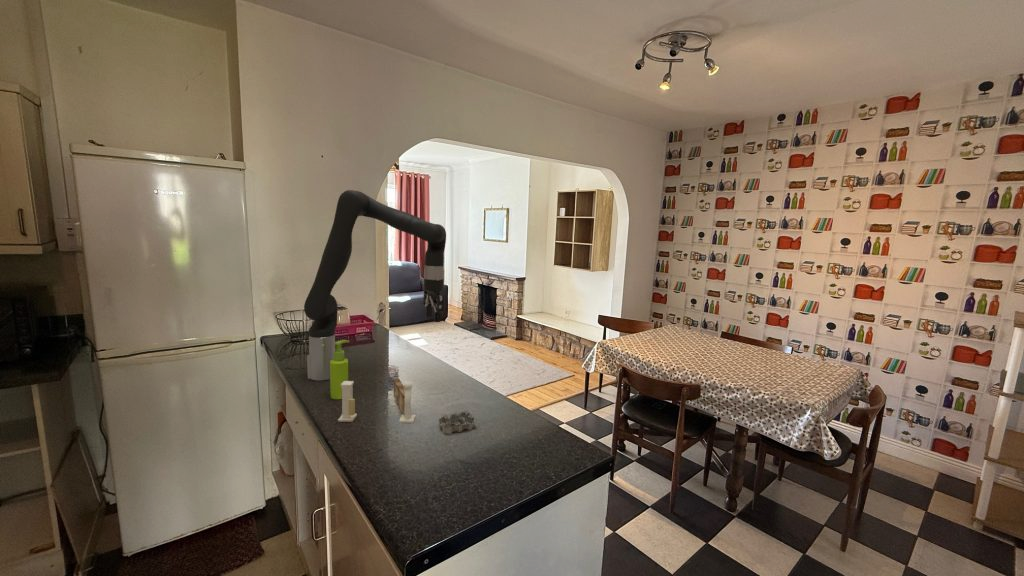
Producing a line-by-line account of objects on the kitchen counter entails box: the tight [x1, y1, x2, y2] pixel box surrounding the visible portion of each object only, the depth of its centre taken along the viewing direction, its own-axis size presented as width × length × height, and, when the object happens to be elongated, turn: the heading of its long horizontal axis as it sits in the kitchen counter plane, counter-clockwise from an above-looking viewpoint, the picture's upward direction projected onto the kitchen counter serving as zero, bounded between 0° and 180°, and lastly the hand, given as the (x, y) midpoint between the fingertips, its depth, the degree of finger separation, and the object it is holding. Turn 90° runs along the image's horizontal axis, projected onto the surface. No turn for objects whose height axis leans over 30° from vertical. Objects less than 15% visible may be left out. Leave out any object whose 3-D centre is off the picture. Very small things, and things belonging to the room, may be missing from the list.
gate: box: [392, 378, 405, 414], centre depth 136 cm, size 16×2×6 cm, turn 28°
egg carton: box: [437, 409, 477, 435], centre depth 126 cm, size 11×8×4 cm
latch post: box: [337, 380, 358, 423], centre depth 127 cm, size 5×4×12 cm
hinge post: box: [398, 381, 417, 424], centre depth 128 cm, size 4×4×13 cm
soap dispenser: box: [329, 339, 350, 400], centre depth 143 cm, size 6×7×20 cm
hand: (433, 319), depth 154 cm, fingers open, 8 cm apart
